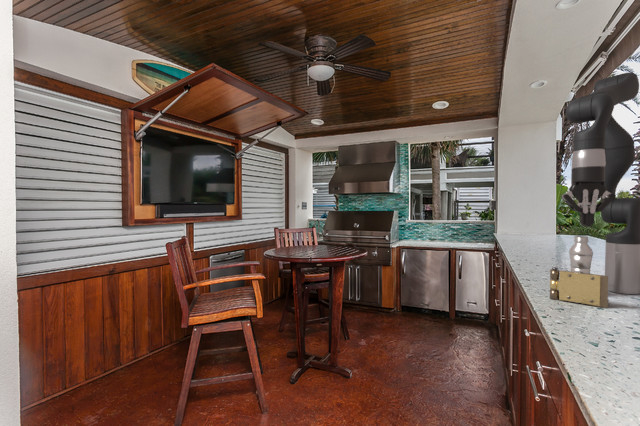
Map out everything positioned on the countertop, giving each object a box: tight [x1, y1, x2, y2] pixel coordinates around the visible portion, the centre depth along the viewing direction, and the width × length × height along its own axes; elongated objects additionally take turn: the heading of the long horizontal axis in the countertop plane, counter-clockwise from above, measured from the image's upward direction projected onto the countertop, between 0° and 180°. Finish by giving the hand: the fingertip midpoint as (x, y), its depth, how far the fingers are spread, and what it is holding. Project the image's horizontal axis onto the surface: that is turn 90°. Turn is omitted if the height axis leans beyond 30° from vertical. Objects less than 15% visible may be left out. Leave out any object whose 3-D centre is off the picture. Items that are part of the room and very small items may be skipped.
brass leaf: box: [549, 270, 601, 307], centre depth 102 cm, size 12×3×9 cm, turn 46°
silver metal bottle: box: [568, 235, 594, 274], centre depth 111 cm, size 6×7×20 cm
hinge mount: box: [549, 266, 610, 309], centre depth 104 cm, size 8×14×10 cm, turn 46°
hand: (586, 226), depth 94 cm, fingers closed
